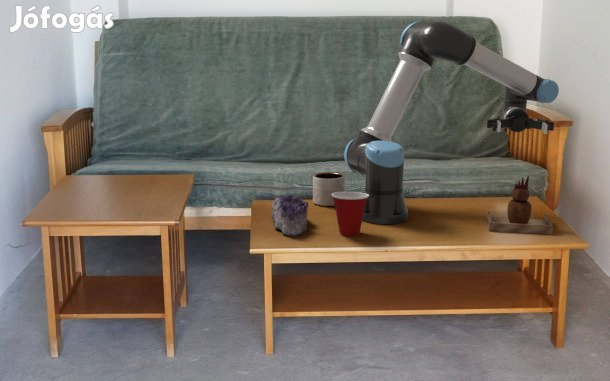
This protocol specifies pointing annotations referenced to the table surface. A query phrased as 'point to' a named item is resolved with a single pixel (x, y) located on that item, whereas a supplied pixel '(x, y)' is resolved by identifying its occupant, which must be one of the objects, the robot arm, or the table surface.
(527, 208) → the wooden figurine
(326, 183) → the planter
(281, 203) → the geode
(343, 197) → the plastic cup
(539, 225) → the tray
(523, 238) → the table surface
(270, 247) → the table surface
